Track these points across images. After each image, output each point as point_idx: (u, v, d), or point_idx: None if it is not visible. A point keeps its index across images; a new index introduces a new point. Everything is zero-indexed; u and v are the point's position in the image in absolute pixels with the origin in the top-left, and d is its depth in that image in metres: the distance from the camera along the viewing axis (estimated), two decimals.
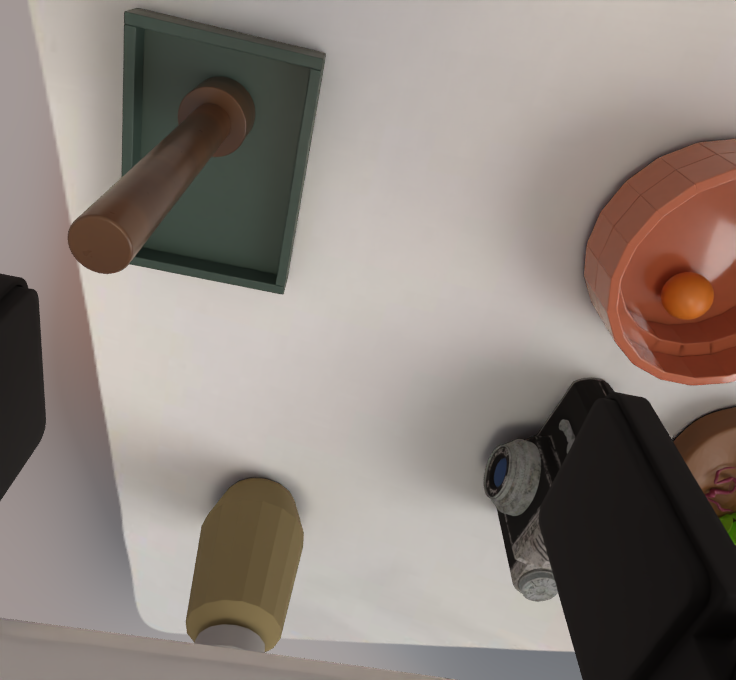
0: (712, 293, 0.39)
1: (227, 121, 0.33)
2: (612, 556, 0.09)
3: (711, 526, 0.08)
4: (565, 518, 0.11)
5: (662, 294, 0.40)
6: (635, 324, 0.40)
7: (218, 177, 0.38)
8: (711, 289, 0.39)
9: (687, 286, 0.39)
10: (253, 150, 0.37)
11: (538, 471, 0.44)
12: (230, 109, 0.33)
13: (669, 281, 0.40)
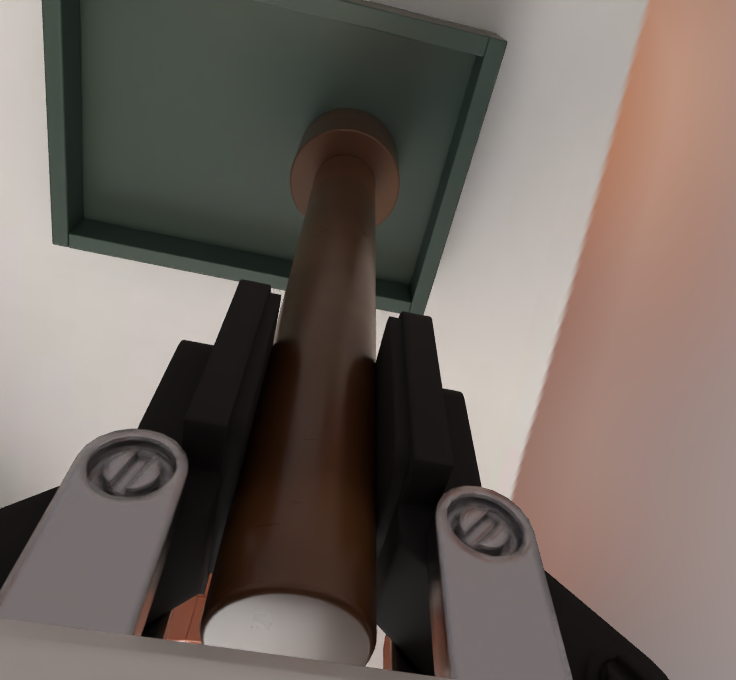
0: None
1: None
2: None
3: (432, 411, 0.09)
4: None
5: None
6: None
7: (240, 137, 0.23)
8: None
9: None
10: (289, 197, 0.24)
11: None
12: None
13: None
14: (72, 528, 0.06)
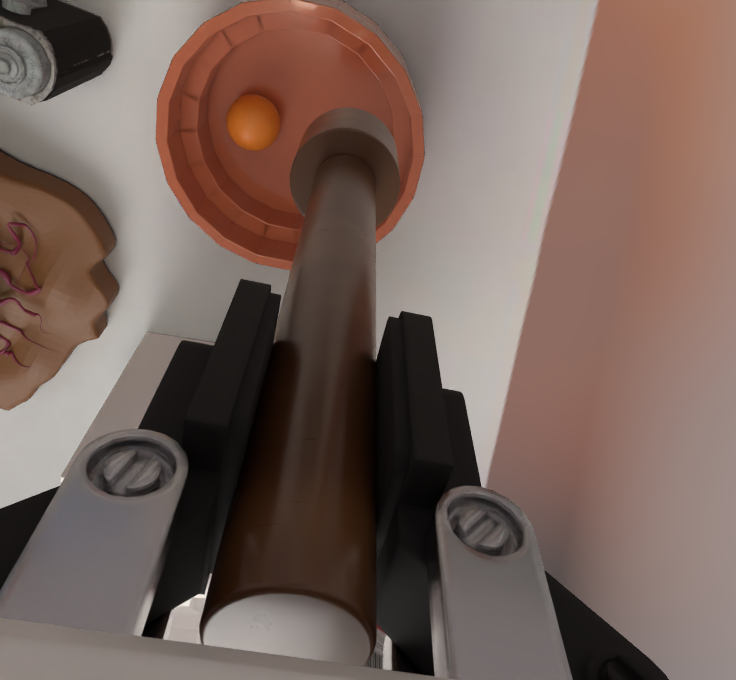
0: (264, 145, 0.35)
1: None
2: None
3: (431, 411, 0.09)
4: None
5: (251, 94, 0.35)
6: (214, 63, 0.33)
7: None
8: (268, 144, 0.35)
9: (269, 115, 0.35)
10: None
11: None
12: None
13: (267, 99, 0.35)
14: (72, 528, 0.06)
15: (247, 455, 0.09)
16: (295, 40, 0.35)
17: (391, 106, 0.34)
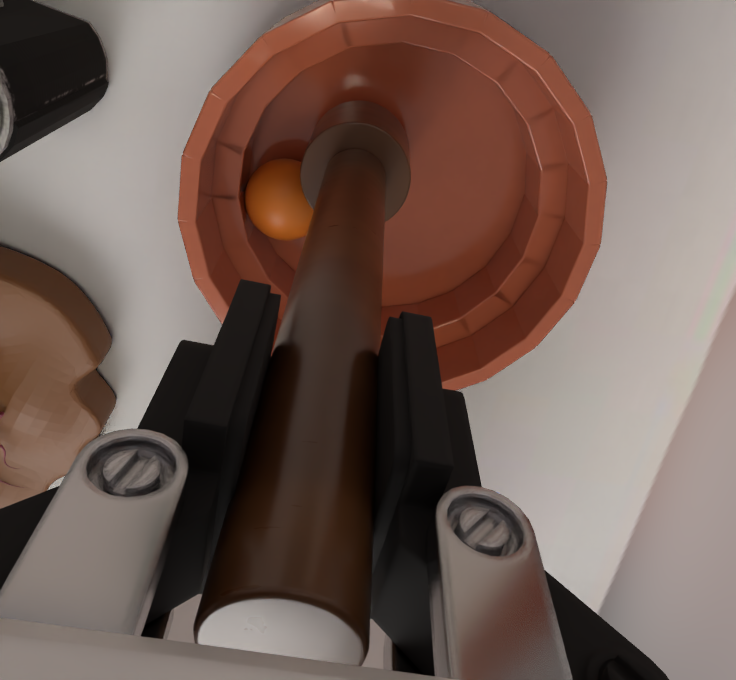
0: None
1: None
2: None
3: (432, 411, 0.09)
4: None
5: (278, 165, 0.23)
6: (270, 97, 0.21)
7: None
8: (287, 239, 0.24)
9: (278, 211, 0.22)
10: None
11: None
12: None
13: (297, 179, 0.23)
14: (72, 528, 0.06)
15: (248, 454, 0.09)
16: (390, 60, 0.23)
17: (541, 162, 0.22)
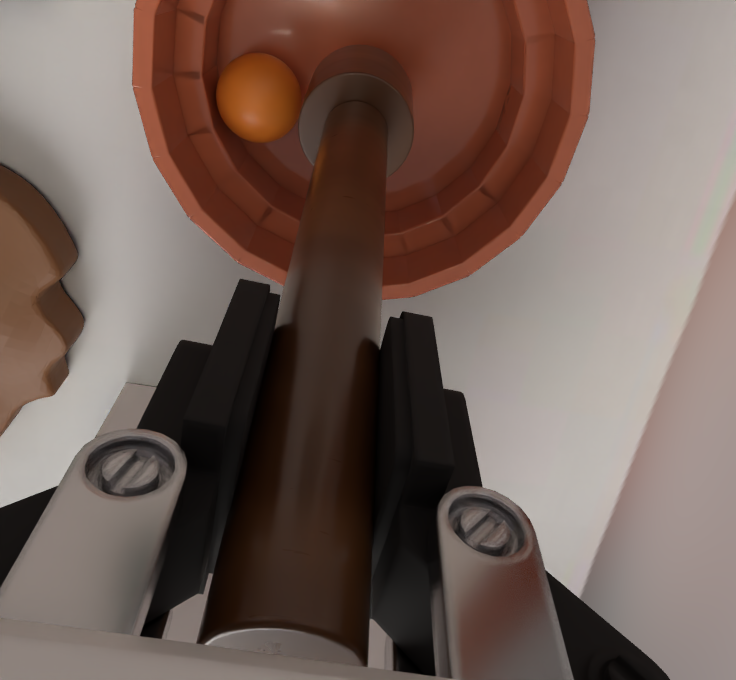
0: (251, 141, 0.23)
1: None
2: None
3: (433, 411, 0.09)
4: None
5: (258, 60, 0.21)
6: None
7: None
8: (257, 142, 0.23)
9: (253, 110, 0.21)
10: None
11: None
12: None
13: (277, 79, 0.21)
14: (71, 528, 0.06)
15: (264, 452, 0.09)
16: None
17: (525, 33, 0.21)
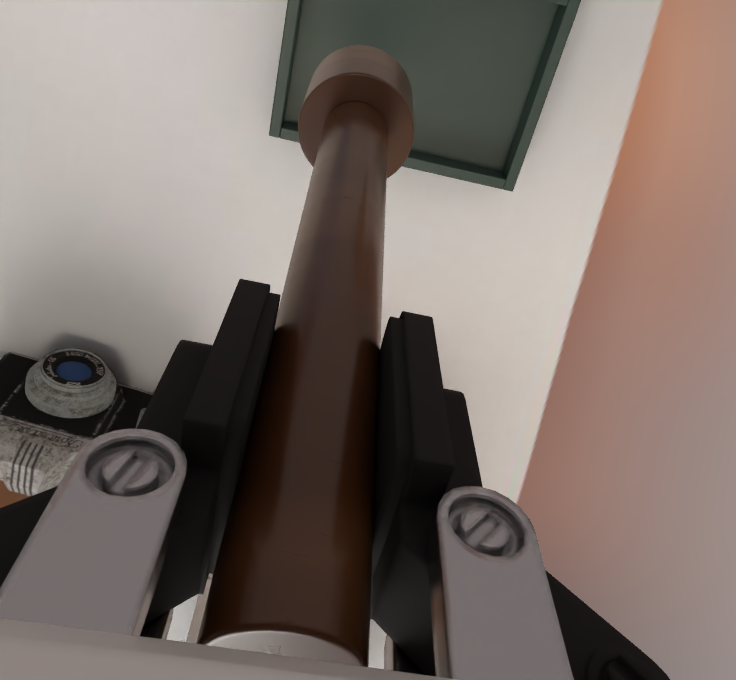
0: None
1: None
2: None
3: (433, 411, 0.09)
4: None
5: None
6: None
7: (398, 62, 0.34)
8: None
9: None
10: (425, 106, 0.36)
11: (96, 412, 0.42)
12: None
13: None
14: (71, 528, 0.06)
15: (264, 454, 0.09)
16: None
17: None
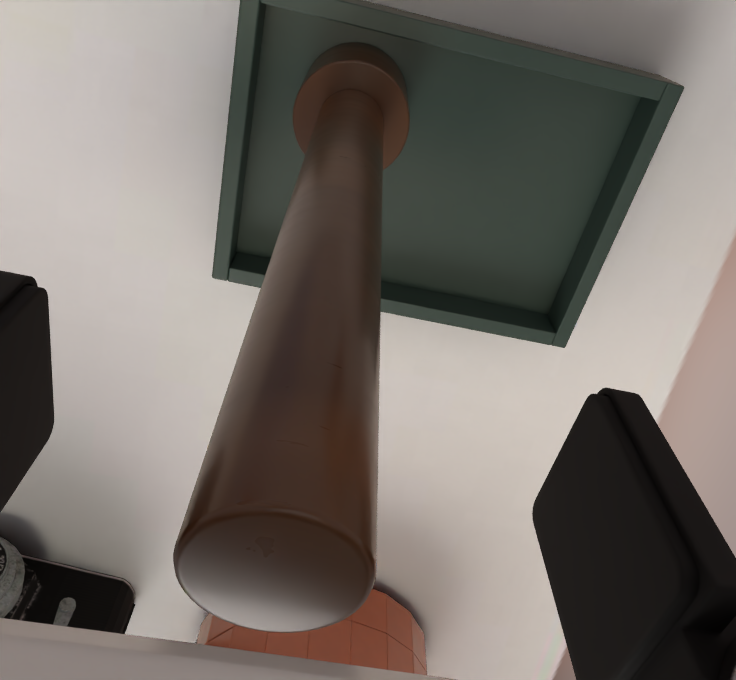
0: None
1: None
2: (604, 550, 0.09)
3: (701, 519, 0.08)
4: (558, 514, 0.11)
5: None
6: None
7: (400, 174, 0.23)
8: None
9: None
10: (440, 231, 0.25)
11: None
12: None
13: None
14: None
15: (257, 360, 0.08)
16: None
17: None
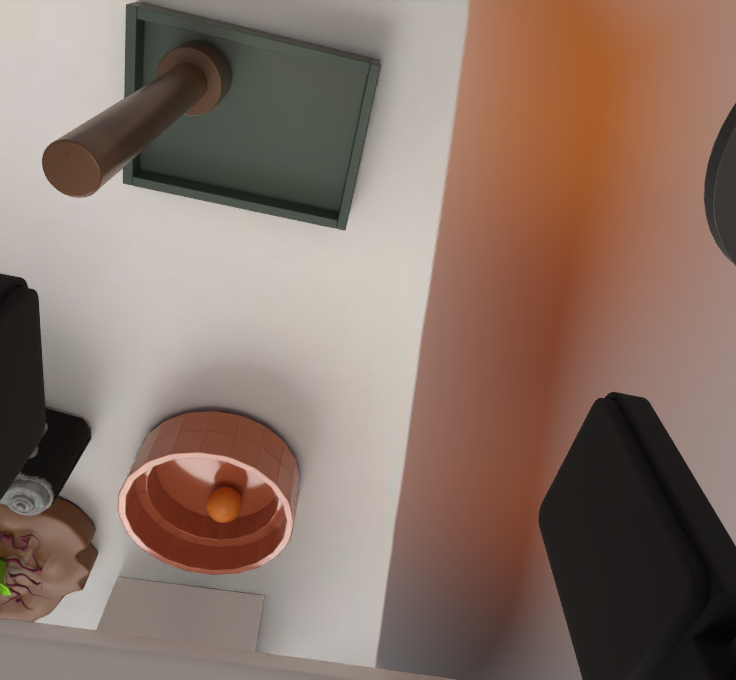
0: None
1: None
2: (612, 556, 0.09)
3: (711, 526, 0.08)
4: (565, 518, 0.11)
5: (233, 490, 0.54)
6: None
7: (234, 119, 0.39)
8: None
9: None
10: (263, 156, 0.40)
11: None
12: (195, 106, 0.36)
13: None
14: None
15: (79, 126, 0.23)
16: None
17: None
